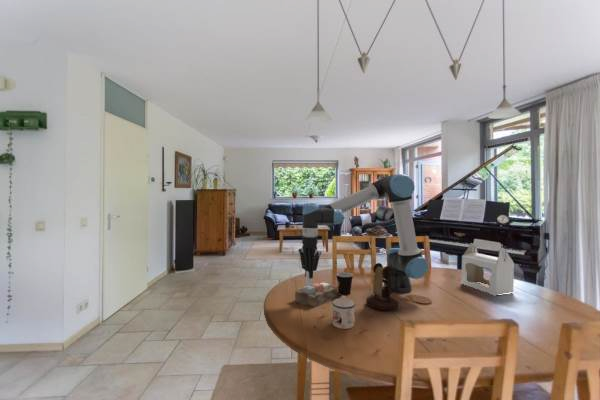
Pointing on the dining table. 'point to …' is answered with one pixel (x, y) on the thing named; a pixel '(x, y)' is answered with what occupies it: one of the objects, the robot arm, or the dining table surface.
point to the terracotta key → (317, 286)
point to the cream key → (325, 285)
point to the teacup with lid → (343, 313)
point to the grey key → (309, 289)
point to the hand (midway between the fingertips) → (308, 284)
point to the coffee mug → (344, 283)
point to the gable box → (499, 266)
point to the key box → (316, 296)
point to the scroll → (382, 289)
